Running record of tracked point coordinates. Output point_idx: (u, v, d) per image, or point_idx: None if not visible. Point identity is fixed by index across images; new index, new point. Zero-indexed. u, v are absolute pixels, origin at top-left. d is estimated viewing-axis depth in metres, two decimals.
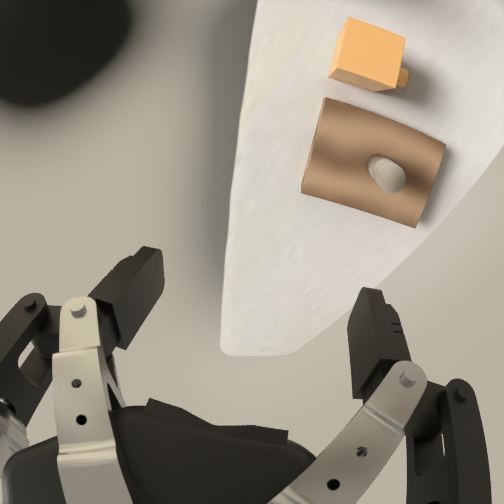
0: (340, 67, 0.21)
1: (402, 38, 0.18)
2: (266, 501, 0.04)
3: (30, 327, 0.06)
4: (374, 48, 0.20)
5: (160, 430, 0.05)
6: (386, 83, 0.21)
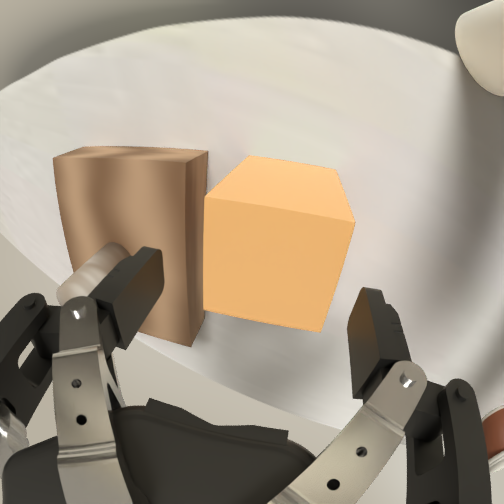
0: (207, 204, 0.11)
1: (318, 327, 0.13)
2: (266, 501, 0.04)
3: (30, 327, 0.06)
4: (277, 276, 0.12)
5: (160, 430, 0.05)
6: (206, 295, 0.14)
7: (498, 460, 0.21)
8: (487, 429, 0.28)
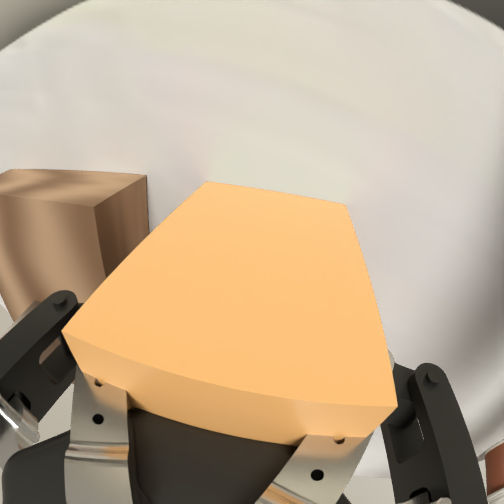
0: (71, 344, 0.04)
1: None
2: (254, 500, 0.04)
3: (57, 326, 0.06)
4: None
5: (160, 430, 0.05)
6: None
7: (500, 495, 0.15)
8: (491, 463, 0.22)
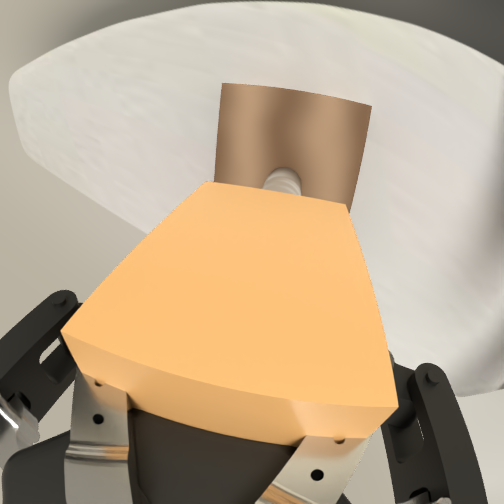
0: (70, 344, 0.04)
1: None
2: (254, 500, 0.04)
3: (56, 325, 0.06)
4: None
5: (160, 430, 0.05)
6: None
7: None
8: None
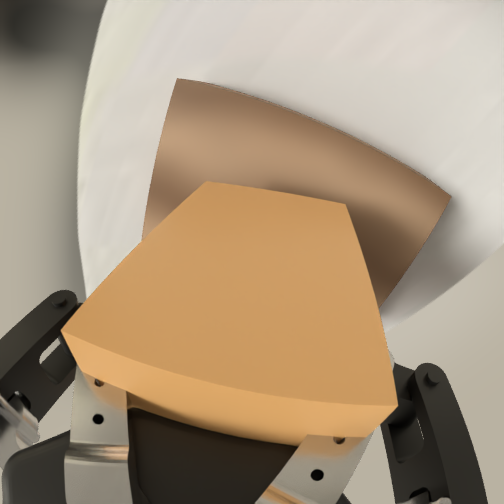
0: (70, 343, 0.04)
1: None
2: (254, 500, 0.04)
3: (56, 326, 0.06)
4: None
5: (160, 430, 0.05)
6: None
7: None
8: None
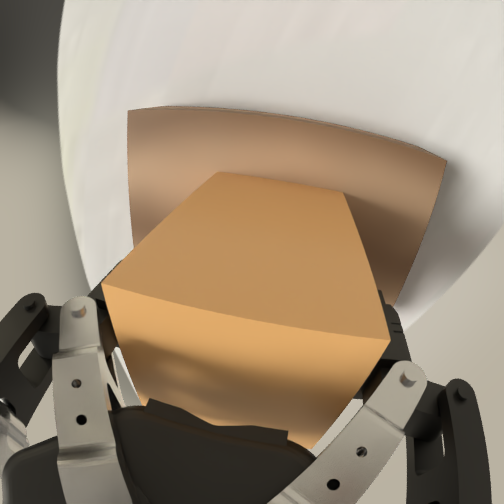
0: (108, 295, 0.06)
1: (308, 445, 0.08)
2: (266, 501, 0.04)
3: (30, 327, 0.06)
4: (243, 402, 0.07)
5: (160, 430, 0.05)
6: (144, 401, 0.08)
7: None
8: None
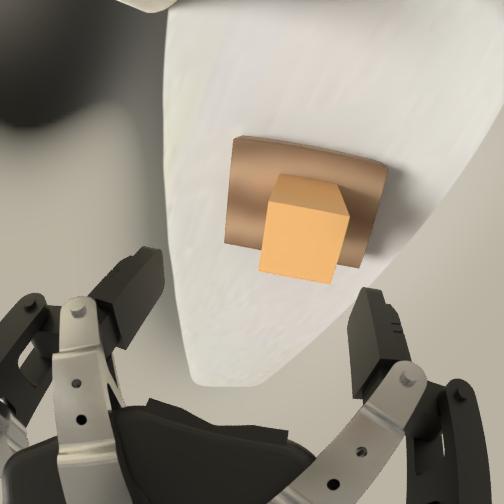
0: (269, 205, 0.20)
1: (329, 280, 0.22)
2: (266, 501, 0.04)
3: (30, 327, 0.06)
4: (306, 247, 0.21)
5: (160, 430, 0.05)
6: (261, 261, 0.23)
7: None
8: None
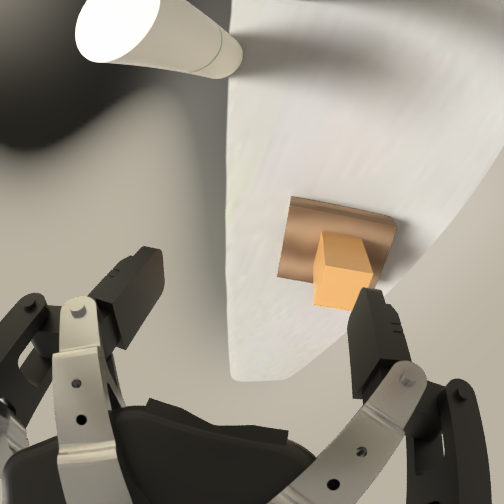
0: (325, 267, 0.32)
1: None
2: (266, 501, 0.04)
3: (30, 327, 0.06)
4: (345, 291, 0.33)
5: (160, 430, 0.05)
6: (316, 299, 0.34)
7: None
8: None
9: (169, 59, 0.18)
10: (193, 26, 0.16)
